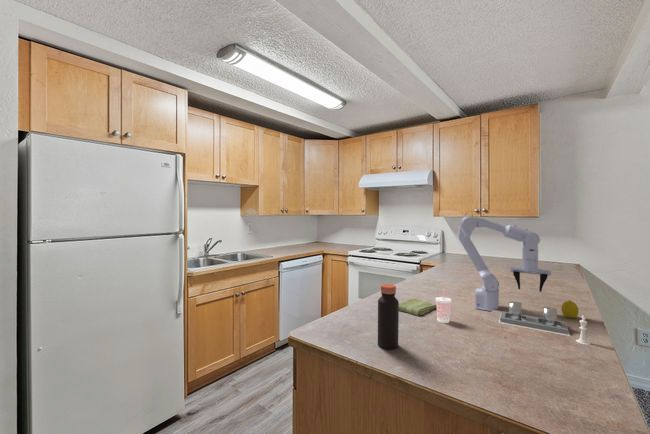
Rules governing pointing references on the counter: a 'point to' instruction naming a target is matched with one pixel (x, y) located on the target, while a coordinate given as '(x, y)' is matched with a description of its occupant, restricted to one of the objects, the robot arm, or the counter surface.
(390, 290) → the bottle
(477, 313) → the counter surface
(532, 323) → the grey rectangular tray
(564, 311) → the lemon
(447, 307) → the beverage cup
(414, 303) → the washcloth
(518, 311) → the cylinder
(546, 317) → the cylinder
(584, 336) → the chess piece
